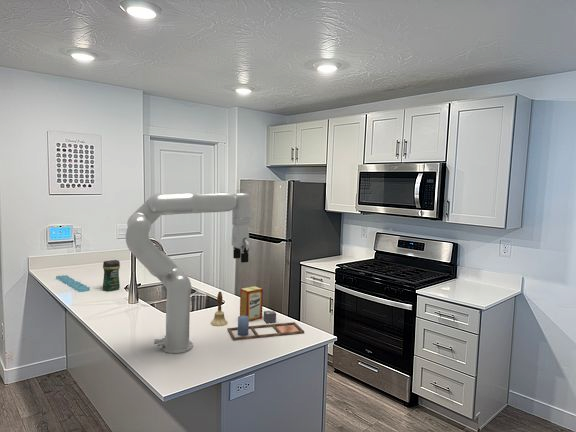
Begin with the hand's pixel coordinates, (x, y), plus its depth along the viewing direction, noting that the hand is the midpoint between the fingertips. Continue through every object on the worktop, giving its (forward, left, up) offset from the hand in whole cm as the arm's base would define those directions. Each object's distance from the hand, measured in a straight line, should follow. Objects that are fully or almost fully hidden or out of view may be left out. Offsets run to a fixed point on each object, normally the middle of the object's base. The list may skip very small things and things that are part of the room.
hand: (240, 260), depth 177 cm
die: (+20, +19, -36) cm, 45 cm away
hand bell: (-5, +23, -36) cm, 43 cm away
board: (+14, +6, -36) cm, 39 cm away
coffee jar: (-59, +100, -36) cm, 121 cm away
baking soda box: (+12, +26, -36) cm, 46 cm away
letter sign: (-83, +118, -37) cm, 149 cm away
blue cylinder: (+3, +6, -36) cm, 36 cm away
